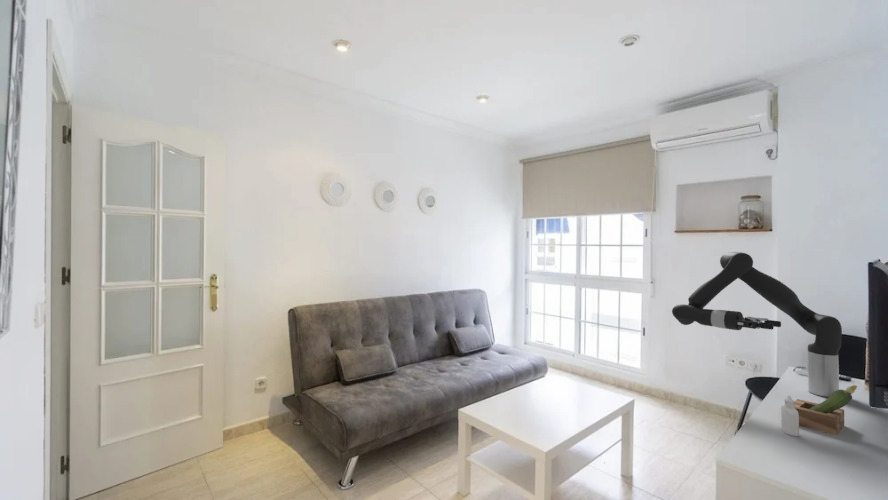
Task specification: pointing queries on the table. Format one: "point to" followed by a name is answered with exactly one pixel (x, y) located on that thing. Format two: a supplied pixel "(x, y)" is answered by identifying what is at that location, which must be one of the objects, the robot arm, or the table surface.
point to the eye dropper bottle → (790, 418)
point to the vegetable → (835, 400)
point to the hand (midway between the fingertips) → (777, 325)
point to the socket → (819, 418)
